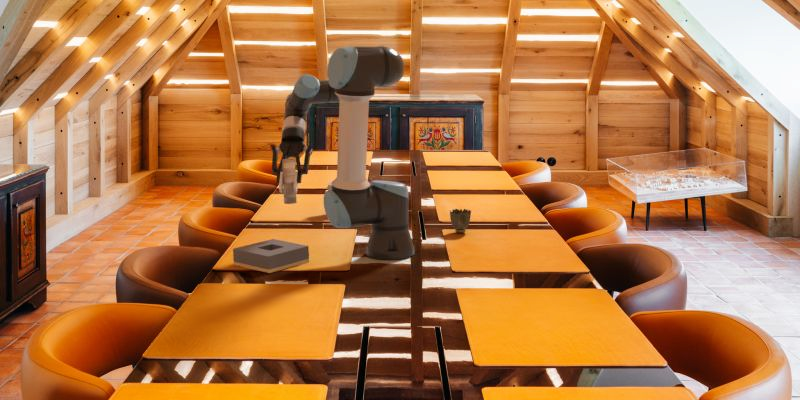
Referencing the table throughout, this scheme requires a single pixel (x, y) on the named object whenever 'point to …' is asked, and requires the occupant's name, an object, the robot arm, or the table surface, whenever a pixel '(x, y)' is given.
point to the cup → (460, 220)
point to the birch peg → (289, 181)
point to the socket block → (271, 255)
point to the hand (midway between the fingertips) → (287, 190)
